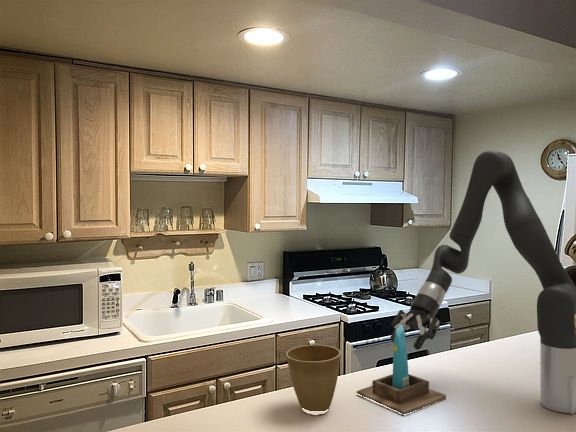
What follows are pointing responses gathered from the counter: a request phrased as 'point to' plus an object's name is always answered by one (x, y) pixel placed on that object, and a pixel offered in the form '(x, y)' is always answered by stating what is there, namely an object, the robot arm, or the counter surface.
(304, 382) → the plant pot
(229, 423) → the counter surface
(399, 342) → the tube
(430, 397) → the socket board
